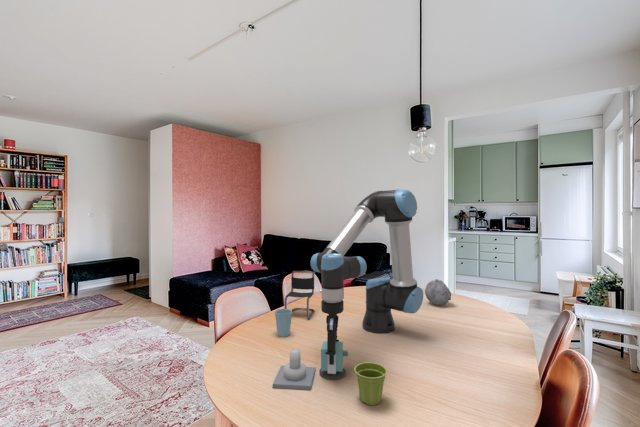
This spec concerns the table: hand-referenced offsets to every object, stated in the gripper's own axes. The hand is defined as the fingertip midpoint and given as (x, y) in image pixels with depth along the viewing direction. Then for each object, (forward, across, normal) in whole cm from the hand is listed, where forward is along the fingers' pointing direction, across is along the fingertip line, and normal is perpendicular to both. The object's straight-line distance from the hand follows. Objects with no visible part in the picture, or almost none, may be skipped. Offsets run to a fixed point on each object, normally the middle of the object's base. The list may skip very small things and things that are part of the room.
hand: (332, 367), depth 107 cm
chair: (+2, -60, -21) cm, 64 cm away
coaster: (+2, 0, 0) cm, 2 cm away
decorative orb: (+2, -86, +57) cm, 103 cm away
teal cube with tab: (0, 0, 0) cm, 0 cm away
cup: (+2, -32, -24) cm, 40 cm away
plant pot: (+2, +14, +12) cm, 19 cm away
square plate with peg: (+2, +5, -12) cm, 13 cm away
